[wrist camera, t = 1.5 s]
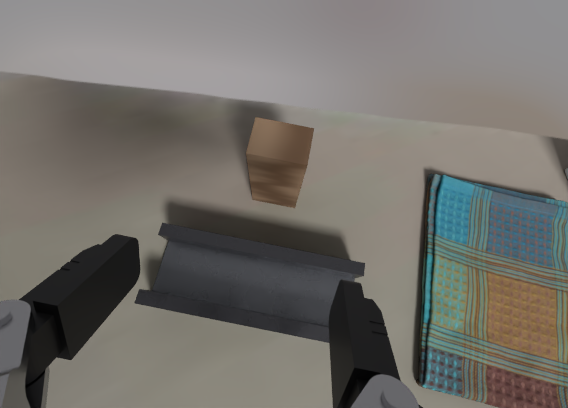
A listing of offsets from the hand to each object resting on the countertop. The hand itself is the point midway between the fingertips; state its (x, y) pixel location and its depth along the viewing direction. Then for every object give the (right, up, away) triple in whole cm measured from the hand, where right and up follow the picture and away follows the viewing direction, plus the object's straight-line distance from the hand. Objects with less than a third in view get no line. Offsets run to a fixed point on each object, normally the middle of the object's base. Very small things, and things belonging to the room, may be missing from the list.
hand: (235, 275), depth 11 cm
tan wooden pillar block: (+1, +4, +22) cm, 23 cm away
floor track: (-1, -6, +19) cm, 20 cm away
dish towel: (+25, -6, +21) cm, 34 cm away
